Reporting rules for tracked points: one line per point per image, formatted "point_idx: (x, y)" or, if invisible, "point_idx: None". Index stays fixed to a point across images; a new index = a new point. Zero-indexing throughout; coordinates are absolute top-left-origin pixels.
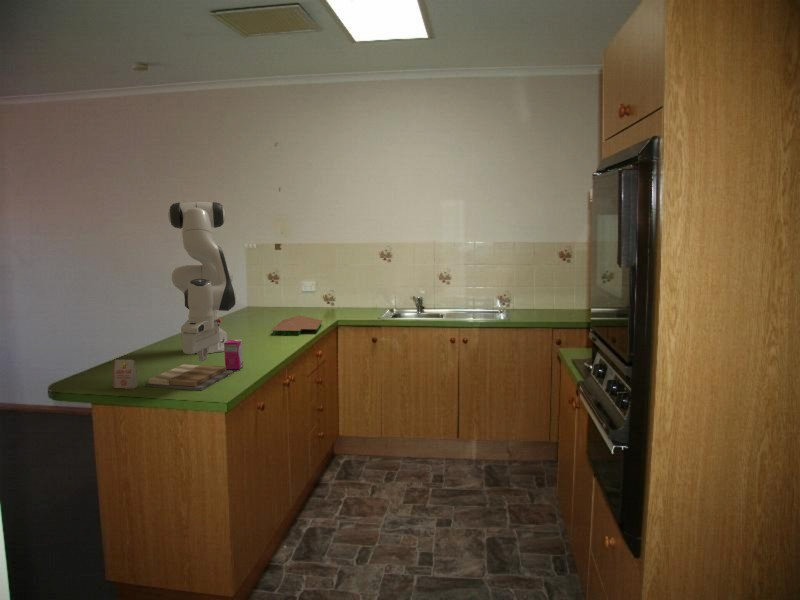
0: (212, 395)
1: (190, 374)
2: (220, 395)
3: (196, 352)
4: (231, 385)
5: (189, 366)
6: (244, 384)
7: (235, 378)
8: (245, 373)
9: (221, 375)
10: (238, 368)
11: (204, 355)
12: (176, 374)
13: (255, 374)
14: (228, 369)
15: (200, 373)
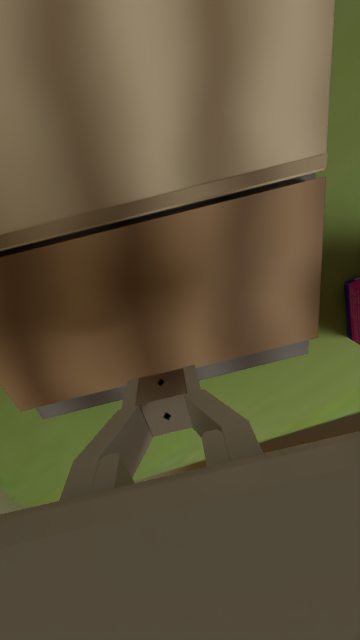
0: (40, 463)
1: (102, 287)
2: (58, 477)
3: (75, 461)
4: (158, 438)
5: (274, 83)
6: (187, 456)
7: (237, 397)
8: (311, 382)
9: (225, 361)
10: (354, 340)
11: (174, 425)
12: (47, 188)
13: (305, 414)
14: (347, 297)
15: (148, 323)
